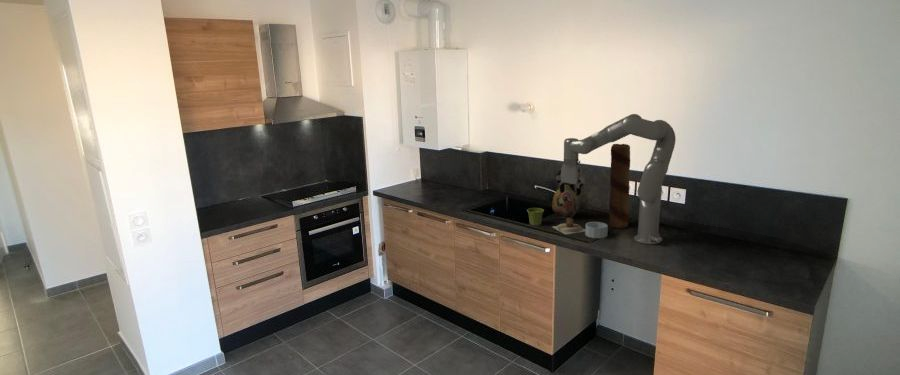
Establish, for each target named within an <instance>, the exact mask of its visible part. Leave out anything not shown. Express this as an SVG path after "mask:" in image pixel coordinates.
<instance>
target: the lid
mask: <svg viewBox="0 0 900 375" xmlns="http://www.w3.org/2000/svg"><path fill="white" fill-rule="evenodd" d="M565 220H566V221H565V222H564V223H560V224H557V226H558V230H560V231H563V232H578V233H580V232H579V231H581V230H582V228H583V227H582V225H580V224H578V223H574V217H572V218H565ZM558 230H557V231H558ZM560 231H559V232H560Z"/></svg>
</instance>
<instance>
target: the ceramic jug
mask: <svg viewBox="0 0 900 375" xmlns="http://www.w3.org/2000/svg"><path fill="white" fill-rule="evenodd" d="M558 175H561V169H560V170H558V171H557V172H556V174H555V175H554V176H555V177H556V176H558ZM560 179H561V177H560ZM563 185H564V192H563V193H560V186H559V187H558V188H557V190H556V192H555V193H554V194H553V197H552V202H551V207H552V211H553V212H554V214H555V215H556V218H560V219H567V218H574V217H575V215H576V213H578V211H579V208H580V202H579V197H578V196H577V195H576V190H575V189H576V188H575V184H569V183H564V184H563Z"/></svg>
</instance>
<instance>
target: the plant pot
mask: <svg viewBox="0 0 900 375" xmlns="http://www.w3.org/2000/svg"><path fill="white" fill-rule="evenodd" d="M526 211H527V213H528V219H529V225H532V226H540V225H542V221H543V214H544V211H545V209H543V208H540V207H530V208H527V209H526Z"/></svg>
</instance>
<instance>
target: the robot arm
mask: <svg viewBox="0 0 900 375" xmlns="http://www.w3.org/2000/svg"><path fill="white" fill-rule="evenodd" d="M630 135H632V136H635V137H639V138H643V139H646V140H650V141H655V145H654V147H653V151H652V154H651V157H650V159H649V161H648V162H647V164H645V167H644V170H643V172H642V175H641V178H640V181H639V184H638V188H637V196H638V197H639V207H638V208H639V209H638V223H637V224H638V225H637V235H635V236H634V237H633V240H634V241H635V242H637V243H640V244H645V245H657V244H660V243H661V242H662V241H663V240H664V238H663V237H661V236H660V233H659V227H660V213H661V204H662V203H661V201H662V193H663V186H662V185H663V182H664V180H665V177H666V175H667V173H668V171H669V165H670V162H671V158H672V156H673V152H674V150H675V147H676V146H675V145H676V140H677V139H676V132H675V130H674V128H673V127H672V125H671V124H670V123H668V122H667V121H665V120H663V119H656V120H654V121H653V120H648V119H646V118H645V119H644V118H643V117H642V116H641V115H639V114H636V113H632V114H629V115H627V116H625V117H623V118H621V119H619V120H617V121H615V122H613V123H611V124H609V125H607V126H605V127H603V129H601V130H600V131H598V132H595V133H592V134H591V135H590V136H587V137H585V138H583V139H578V138H574V137H572V138H571V137H569V138H565V139H564V140H563V163H562V166H561V169H560V170H561V175H558V176H555V180H556V183H558V186H559V187H560V193H563V192H564V185H563V184H564V183H569V184H570V185H571V184H574V186H576V188H575V189H576V190H575V193H576V195H577V197H578V196H580V195H581V194H582V187H583V186H584V185H585V184H586V182H587V180H586V179H585V178H583V176H582V170H581V165H580V164H581V160H579V154H581V155H587V154H589V153H591V152H593V151H595V150H597V149H599V148H601V147H604V146H606V145H607V144H610V143H615V142H618V141H619V140H621V139H624V138H625V137H627V136H630ZM560 177H561V178H560Z"/></svg>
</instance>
